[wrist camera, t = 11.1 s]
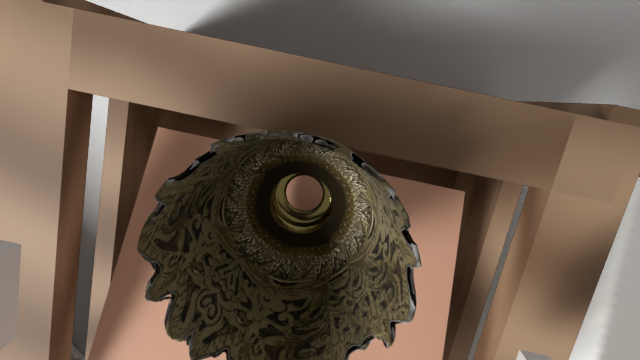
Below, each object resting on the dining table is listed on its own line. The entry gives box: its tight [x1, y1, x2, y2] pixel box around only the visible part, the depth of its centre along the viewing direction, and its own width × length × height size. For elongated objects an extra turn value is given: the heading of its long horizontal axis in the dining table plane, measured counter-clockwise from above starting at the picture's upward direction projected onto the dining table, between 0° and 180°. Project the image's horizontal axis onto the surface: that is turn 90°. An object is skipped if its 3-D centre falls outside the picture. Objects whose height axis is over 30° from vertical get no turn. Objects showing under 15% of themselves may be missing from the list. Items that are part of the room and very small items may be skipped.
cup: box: [137, 130, 422, 360], centre depth 14 cm, size 8×7×8 cm
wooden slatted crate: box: [0, 0, 640, 360], centre depth 22 cm, size 22×22×15 cm
